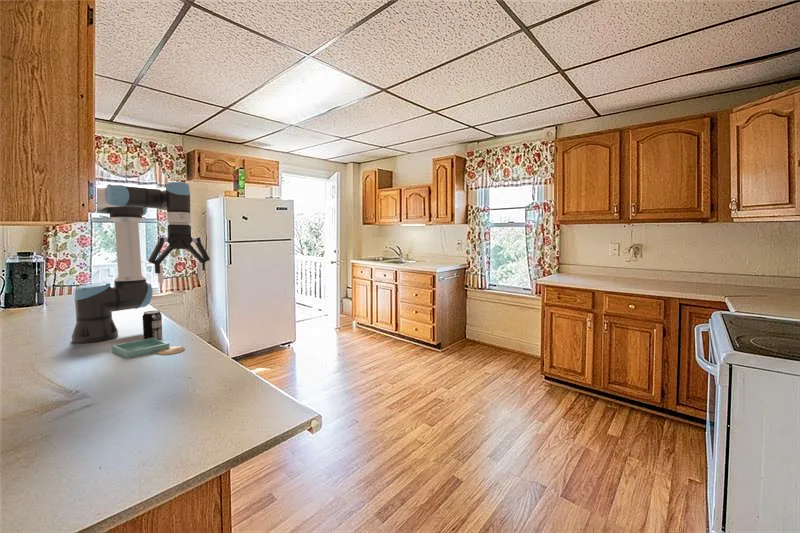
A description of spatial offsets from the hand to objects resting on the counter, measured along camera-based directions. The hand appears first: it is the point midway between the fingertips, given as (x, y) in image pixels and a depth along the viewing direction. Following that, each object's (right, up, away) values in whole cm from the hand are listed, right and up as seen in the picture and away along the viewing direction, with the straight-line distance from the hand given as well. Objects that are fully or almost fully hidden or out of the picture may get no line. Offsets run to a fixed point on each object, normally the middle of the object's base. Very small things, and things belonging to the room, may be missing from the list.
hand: (181, 280), depth 138 cm
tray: (-16, -27, +2) cm, 31 cm away
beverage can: (-21, -26, +16) cm, 37 cm away
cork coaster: (-5, -27, +1) cm, 27 cm away
